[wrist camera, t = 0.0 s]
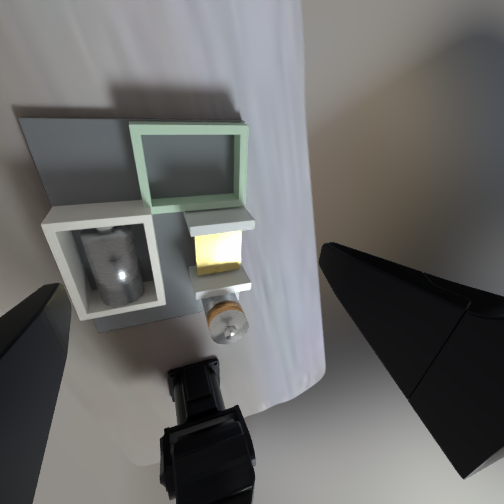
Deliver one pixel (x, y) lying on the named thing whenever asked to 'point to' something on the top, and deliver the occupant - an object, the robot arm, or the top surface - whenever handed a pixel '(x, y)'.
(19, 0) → the top surface
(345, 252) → the robot arm
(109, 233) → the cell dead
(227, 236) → the plate
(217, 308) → the cell
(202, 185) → the mint square frame
